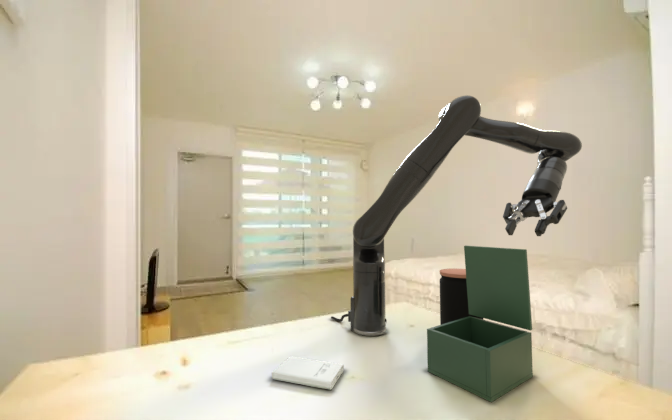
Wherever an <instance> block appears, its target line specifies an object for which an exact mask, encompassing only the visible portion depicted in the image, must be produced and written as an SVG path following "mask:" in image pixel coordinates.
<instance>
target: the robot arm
mask: <svg viewBox="0 0 672 420" xmlns="http://www.w3.org/2000/svg"><path fill="white" fill-rule="evenodd" d="M481 114H482V107H481V103H480V101H479V100H478V99H477V98H476V97H474V96H472V95H467V94H466V95H460V96H457V97H456V98H454V99H453V100H451V101H450V102H449V103H447V104H445V106H444V107H442V109H441V111H440V112H439V114H438V123H437V125H436V126H435V127H434V129H433V130H432V131H431V132H430V133H429V134H428V135H427V136H426V137H425V138H424V139H423V140H422V141H421V142H420V143H419V144H418V145H417V146H415V148H413V149H412V150H411V152H410V153H409V154H407V156H406V157H405V158H404V159H403V161H402V162H401V163H400V164H399V166H398V167H397V168H396V170H395V172H393V174H392V175H391V177H390V179H389V180H388V182H387V184H386V185H385V187H384V189H383V191H382V192H381V194H380V195H379V197H378V198H377V199H376V200H375V201H374V203H373V204H372V205H371V206H370V207H369V208H368V209H367V210H366V211H365V212H364V213H363V214H362V215H361V216H360V217H359V218H358V219H356V221H355V222H354V224H353V226H352V240H353V241H352V245H353V248H352V250H353V251H352V252H353V253H352V286H353V287H352V292H353V295H352V296H350V309H349V310H348V311H347V313H344V314H342V315H341V317H340V318H338V317H335V316H331V317H330V319H331V320H334V321H335V322H338V323H339V322H343V321H344V319H345V318H347V322H348V323H350V332H354V333H356V334H357V335H361V336H364V337H376V336H381V335H384V334H386V332H387V323H388V322H387V321H388V319H387V317H386V315H387V314H386V257H385V256H386V255H385V237H386V235H387V233H388V232H389V230H390V228H392V226H393V224H394V223H395V221H396V220H397V218H398V217H399V215H400V214H401V213H402V212H403V211H404V210H405V209H406V207H407V206H409V204H411V203H412V202H413V201H414V199H415V198H416V197H417V196H418V195H419V194H420V193H421V192H422V190H424V188H425V187H426V185H427V184H428V183H429V181H430V180H431V179H432V178H433V177H434V176H435V174H436V172H437V171H438V169H439V168H440V167H441V166H442V164H443V163H444V162H445V160H446V158H447V157H448V156H449V154H450V153H451V151H452V150H453V148H455V146H456V145H457V144H458V143H459V142H460V141H461V139H462V138H464V137H465V136H466V137H471V138H476V139H481V140H485V141H488V142H492V143H496V144H499V145H502V146H505V147H508V148H511V149H514V150H516V151H520V152H523V153H526V154H529V155H534V154H537V153H538V155H537V161H536V162H537V166H536V167H535V170H534V172H533V174H532V175H531V176H530V178H529V179H528V182H527V184H526V186H525V188H524V190H523V192H522V195H521V199H520V201H518V202H517V203H514V204H512V203H511V202H506V204H505V207H504V210H503V215H502V218H503V220H504V222H505V224H506V226H505V228H504V229H505V231H506V233H507V234H508V235H507V236H513V235H514V233H515V231H516V229H517V226H518V225H519V224H520V223H521V222H525V220H526V219H527V218H540V219H538V221H537V223H536V226H535V227H534V233H535V235H536V237H542V235H544V234H545V233H546V231H547V228H548V226H550V225H552V224H554V225H558V224H559V223H560V222H561V220H562V218H563V217H564V215H565V213H566V211H567V210H568V206H567V203H566V201H565V200H564V199H559V200H558V201H557V199H558V197H559V193H560V192H561V190H562V186H563V182H564V179H565V176H566V173H567V171H568V164H567V161H568V160H570V159H572V158H573V157H575V156H576V155H577V154H579V153H580V152H581V150H582V147H583V144H582V143H583V142H582V141H581V139H580V138H579V137H578V136H576V135H575V134H573V133H571V132H566V131H559V130H545V129H544V130H542V129H539V128H536V127H533V126H530V125H527V124H524V123H519V122H515V121H508V120H507V121H506V120H499V119H493V118H488V117H485V116H481ZM551 210H552V211H551ZM550 211H551V212H550ZM549 212H550V214H549V215H548V214H547V213H549Z"/></svg>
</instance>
